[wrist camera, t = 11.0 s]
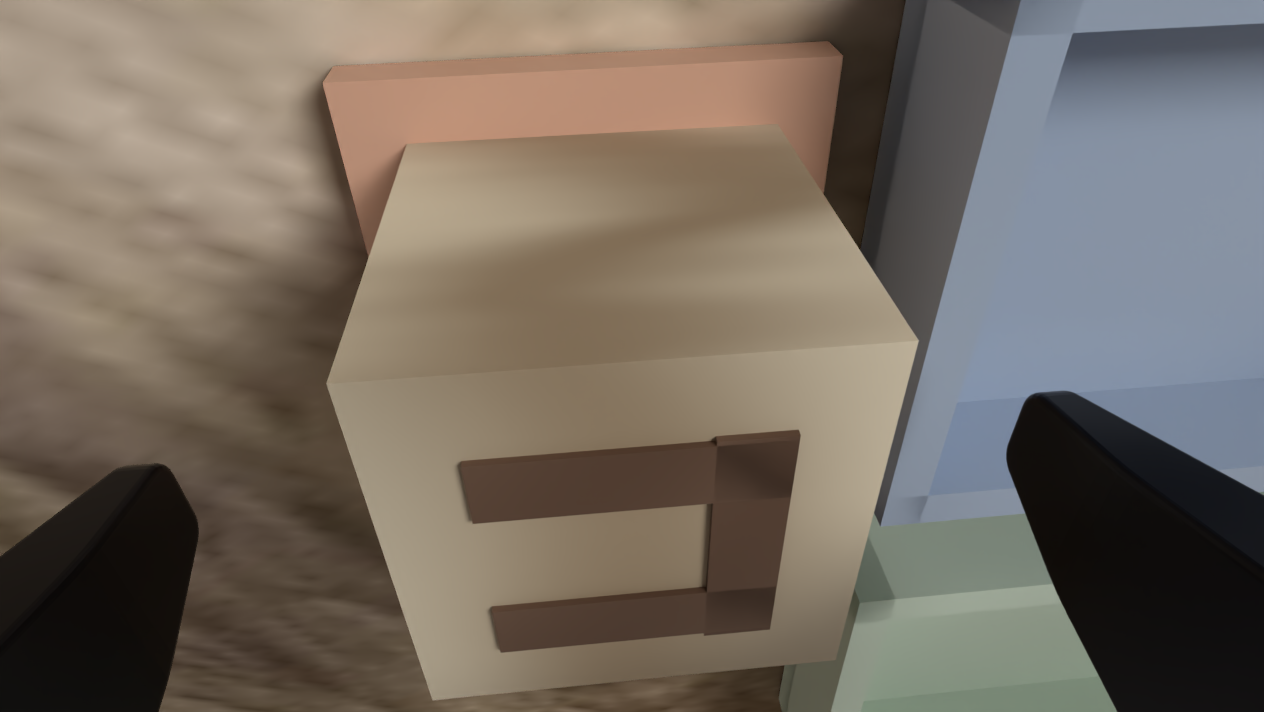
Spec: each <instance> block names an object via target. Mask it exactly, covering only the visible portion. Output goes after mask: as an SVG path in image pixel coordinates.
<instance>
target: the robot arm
mask: <svg viewBox="0 0 1264 712" xmlns="http://www.w3.org/2000/svg"><path fill="white" fill-rule="evenodd" d="M1006 462H1007V467H1008V470H1009V473H1010V475H1011V478H1012V481H1013V483H1014V486H1015V488H1016V491H1017V494H1018V496H1019V499H1020V501H1021V504H1022V507H1023V509H1024V512H1025V514H1026V517H1027V520H1028V522H1029V525H1030V527H1031V530H1032V533H1033V535H1034V538H1035V540H1036V543H1037V546H1038V548H1039V551H1040V553H1041V556H1042V559H1043V561H1044V564H1045V566H1046V569H1047V571H1048V574H1049V576H1050V579H1051V581H1052V583H1053V586H1054V588H1055V590H1056V593H1057V595H1058V597H1059V599H1060V601H1061V603H1062V605H1063V607H1064V609H1065V611H1066V613H1067V615H1068V617H1069V619H1070V621H1071V623H1072V625H1073V627H1074V629H1075V631H1076V633H1077V635H1078V637H1079V639H1080V641H1081V643H1082V644H1083V646H1084V648H1085V650H1086V652H1087V654H1088V656H1089V658H1090V660H1091V662H1092V664H1093V666H1094V668H1095V670H1096V672H1097V674H1098V676H1099V677H1100V679H1101V681H1102V683H1103V685H1104V687H1105V689H1106V691H1107V693H1108V695H1109V697H1110V699H1111V701H1112V703H1113V705H1114V707H1115V709H1116V711H1117V712H1264V495H1263V494H1261V493H1259V492H1257V491H1255V490H1253V489H1252V488H1250V487H1248V486H1246V485H1244V484H1242V483H1240V482H1239V481H1237V480H1235V479H1233V478H1231V477H1229V476H1228V475H1226V474H1224V473H1222V472H1220V471H1218V470H1216V469H1215V468H1213V467H1211V466H1209V465H1207V464H1205V463H1204V462H1202V461H1200V460H1198V459H1196V458H1194V457H1192V456H1191V455H1189V454H1187V453H1185V452H1183V451H1181V450H1179V449H1178V448H1176V447H1174V446H1172V445H1170V444H1168V443H1167V442H1165V441H1163V440H1161V439H1159V438H1157V437H1155V436H1154V435H1152V434H1150V433H1148V432H1146V431H1144V430H1143V429H1141V428H1139V427H1137V426H1135V425H1133V424H1131V423H1130V422H1128V421H1126V420H1124V419H1122V418H1120V417H1119V416H1117V415H1115V414H1113V413H1111V412H1109V411H1107V410H1106V409H1104V408H1102V407H1100V406H1098V405H1096V404H1095V403H1093V402H1091V401H1089V400H1087V399H1085V398H1083V397H1082V396H1080V395H1078V394H1076V393H1074V392H1071V391H1064V390H1062V391H1049V392H1037V393H1034V394H1031V395H1030V396H1029V397H1028V398H1027V399H1026V400H1025V401H1024V403H1023V406H1022V408H1021V411H1020V413H1019V416H1018V419H1017V421H1016V424H1015V427H1014V429H1013V432H1012V434H1011V437H1010V440H1009V442H1008V445H1007V450H1006ZM198 534H199V528H198V522H197V518H196V515H195V513H194V511H193V509H192V507H191V506H190V504H189V502H188V500H187V498H186V496H185V495H184V493H183V491H182V489H181V487H180V486H179V484H178V482H177V480H176V478H175V476H174V475H173V473H172V472H171V470H170V469H169V468H168V467H166V466H165V465H163V464H158V463H154V464H142V465H130V466H124V467H120V468H117V469H115V470H114V471H112V472H111V473H110V474H108V475H107V476H106V477H104V478H103V479H102V480H100V481H99V482H98V483H96V484H95V485H94V486H92V487H91V488H90V489H88V490H87V491H86V492H85V493H83V494H82V495H81V496H79V497H78V498H77V499H75V500H74V501H73V502H71V503H70V504H69V505H67V506H66V507H65V508H63V509H62V510H61V511H59V512H58V513H57V514H56V515H54V516H53V517H52V518H50V519H49V520H48V521H46V522H45V523H44V524H42V525H41V526H40V527H38V528H37V529H36V530H34V531H33V532H32V533H31V534H29V535H28V536H27V537H25V538H24V539H23V540H21V541H20V542H19V543H17V544H16V545H15V546H13V547H12V548H11V549H9V550H8V551H7V552H5V553H4V554H3V555H2V556H0V712H159V708H160V705H161V702H162V699H163V696H164V692H165V689H166V686H167V682H168V679H169V675H170V671H171V666H172V662H173V658H174V654H175V649H176V644H177V639H178V634H179V630H180V625H181V620H182V615H183V610H184V605H185V601H186V596H187V591H188V586H189V581H190V576H191V571H192V567H193V562H194V557H195V552H196V547H197V542H198Z"/></svg>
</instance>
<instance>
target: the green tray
mask: <svg viewBox="0 0 1264 712" xmlns="http://www.w3.org/2000/svg"><path fill="white" fill-rule="evenodd" d="M1259 493H1261V494H1263V495H1264V492H1259ZM779 702H780V706H781V710H782V712H1117V711H1116V709H1115V707H1114V705H1113V703H1112V701H1111V699H1110V697H1109V695H1108V693H1107V691H1106V689H1105V687H1104V685H1103V683H1102V681H1101V679H1100V677H1099V676H1098V674H1097V672H1096V670H1095V668H1094V666H1093V664H1092V662H1091V660H1090V658H1089V656H1088V654H1087V652H1086V650H1085V648H1084V646H1083V644H1082V643H1081V641H1080V639H1079V637H1078V635H1077V633H1076V631H1075V629H1074V627H1073V625H1072V623H1071V621H1070V619H1069V617H1068V615H1067V613H1066V611H1065V609H1064V607H1063V605H1062V603H1061V601H1060V599H1059V597H1058V595H1057V593H1056V590H1055V588H1054V586H1053V583H1052V581H1051V579H1050V576H1049V574H1048V571H1047V569H1046V566H1045V564H1044V561H1043V559H1042V556H1041V553H1040V551H1039V548H1038V546H1037V543H1036V540H1035V538H1034V535H1033V533H1032V530H1031V527H1030V525H1029V522H1028V520H1027V517H1026V514H1014V515H1003V516H992V517H981V518H970V519H959V520H948V521H937V522H926V523H915V524H904V525H894V526H883V527H880V525H879V523H878V521H877V518H876V516H875V514H874V515H873V518H872V522H871V526H870V530H869V534H868V538H867V542H866V545H865V549H864V553H863V557H862V561H861V565H860V568H859V572H858V576H857V580H856V584H855V588H854V591H853V595H852V599H851V603H850V607H849V611H848V614H847V618H846V622H845V626H844V630H843V634H842V638H841V641H840V645H839V649H838V653H837V657H836V660H832V661H822V662H812V663H802V664H792V665H785V666H784V671H783V677H782V682H781V688H780V693H779Z"/></svg>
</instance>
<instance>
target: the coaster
mask: <svg viewBox="0 0 1264 712" xmlns="http://www.w3.org/2000/svg"><path fill="white" fill-rule="evenodd" d="M842 61H843V55H842V54H841V53H840V52H839V51H838V50H837V49H836V48H835V47H834V46H833V45H832V44H831V43H830V42H829V41H821V42H802V43H782V44H762V45H742V46H722V47H703V48H683V49H663V50H643V51H624V52H604V53H584V54H564V55H544V56H525V57H505V58H485V59H465V60H445V61H426V62H406V63H386V64H366V65H346V66H333V68H332V69H331V71H330V72H329V74H328V75H327V77H326V78H325V80H324V81H323V87H324V91H325V95H326V98H327V102H328V106H329V110H330V114H331V117H332V121H333V125H334V129H335V133H336V136H337V140H338V144H339V148H340V152H341V155H342V159H343V163H344V167H345V171H346V174H347V178H348V182H349V186H350V189H351V193H352V197H353V201H354V205H355V208H356V212H357V216H358V220H359V224H360V227H361V231H362V235H363V239H364V243H365V246H366V250H367V254H368V258H369V255H370V252H371V249H372V246H373V243H374V240H375V237H376V234H377V231H378V228H379V225H380V222H381V219H382V216H383V213H384V210H385V207H386V204H387V201H388V199H389V196H390V193H391V190H392V187H393V184H394V181H395V178H396V175H397V172H398V169H399V166H400V163H401V160H402V157H403V154H404V151H405V148H406V145H407V144H412V143H430V142H449V141H468V140H486V139H505V138H524V137H542V136H561V135H580V134H598V133H617V132H636V131H654V130H673V129H691V128H710V127H729V126H747V125H766V124H778V125H779V127H780V128H781V130H782V131H783V133H784V135H785V136H786V138H787V139H788V141H789V142H790V144H791V145H792V147H793V148H794V150H795V151H796V153H797V154H798V156H799V158H800V159H801V161H802V162H803V164H804V165H805V167H806V168H807V170H808V171H809V173H810V174H811V176H812V177H813V179H814V181H815V182H816V184H817V185H818V187H819V188H820V190H821V191H822V193H823V194H824V188H825V181H826V174H827V167H828V160H829V153H830V146H831V139H832V132H833V125H834V118H835V111H836V104H837V96H838V89H839V82H840V75H841V68H842Z"/></svg>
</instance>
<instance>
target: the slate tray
mask: <svg viewBox="0 0 1264 712" xmlns="http://www.w3.org/2000/svg"><path fill="white" fill-rule="evenodd" d="M860 251H861V253H862V254H863V256H864V257H865V259H866V260H867V262H868V263H869V265H870V267H871V268H872V270H873V271H874V273H875V274H876V276H877V277H878V279H879V280H880V282H881V283H882V285H883V286H884V288H885V290H886V291H887V293H888V294H889V296H890V297H891V299H892V300H893V302H894V303H895V305H896V306H897V308H898V310H899V311H900V313H901V314H902V316H903V317H904V319H905V320H906V322H907V323H908V325H909V326H910V328H911V329H912V331H913V333H914V334H915V336H916V337H917V339H918V340H919V342H918V346H917V349H916V353H915V357H914V361H913V365H912V369H911V373H910V376H909V380H908V384H907V388H906V392H905V396H904V399H903V403H902V407H901V411H900V415H899V419H898V422H897V426H896V430H895V434H894V438H893V442H892V445H891V449H890V453H889V457H888V461H887V465H886V469H885V472H884V476H883V480H882V484H881V488H880V492H879V495H878V499H877V503H876V507H875V511H874V514H875V516H876V518H877V521H878V523H879V525H880V527H883V526H894V525H904V524H915V523H926V522H937V521H948V520H959V519H970V518H981V517H992V516H1003V515H1014V514H1025V512H1024V509H1023V507H1022V504H1021V501H1020V499H1019V496H1018V494H1017V491H1016V488H1015V486H1014V483H1013V481H1012V478H1011V475H1010V473H1009V470H1008V467H1007V462H1006V450H1007V445H1008V442H1009V440H1010V437H1011V434H1012V432H1013V429H1014V427H1015V424H1016V421H1017V419H1018V416H1019V413H1020V411H1021V408H1022V406H1023V403H1024V401H1025V400H1026V399H1027V398H1028V397H1029V396H1030V395H1031V394H1034V393H1037V392H1049V391H1062V390H1064V391H1071V392H1074V393H1076V394H1078V395H1080V396H1082V397H1083V398H1085V399H1087V400H1089V401H1091V402H1093V403H1095V404H1096V405H1098V406H1100V407H1102V408H1104V409H1106V410H1107V411H1109V412H1111V413H1113V414H1115V415H1117V416H1119V417H1120V418H1122V419H1124V420H1126V421H1128V422H1130V423H1131V424H1133V425H1135V426H1137V427H1139V428H1141V429H1143V430H1144V431H1146V432H1148V433H1150V434H1152V435H1154V436H1155V437H1157V438H1159V439H1161V440H1163V441H1165V442H1167V443H1168V444H1170V445H1172V446H1174V447H1176V448H1178V449H1179V450H1181V451H1183V452H1185V453H1187V454H1189V455H1191V456H1192V457H1194V458H1196V459H1198V460H1200V461H1202V462H1204V463H1205V464H1207V465H1209V466H1211V467H1213V468H1215V469H1216V470H1218V471H1220V472H1222V473H1224V474H1226V475H1228V476H1229V477H1231V478H1233V479H1235V480H1237V481H1239V482H1240V483H1242V484H1244V485H1246V486H1248V487H1250V488H1252V489H1253V490H1255V491H1257V492H1264V0H906V2H905V8H904V13H903V19H902V24H901V30H900V35H899V41H898V46H897V52H896V57H895V63H894V68H893V74H892V79H891V85H890V90H889V96H888V101H887V107H886V112H885V118H884V123H883V129H882V134H881V140H880V145H879V150H878V156H877V161H876V167H875V172H874V178H873V183H872V189H871V194H870V200H869V205H868V211H867V216H866V222H865V227H864V233H863V238H862V244H861V249H860Z"/></svg>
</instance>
